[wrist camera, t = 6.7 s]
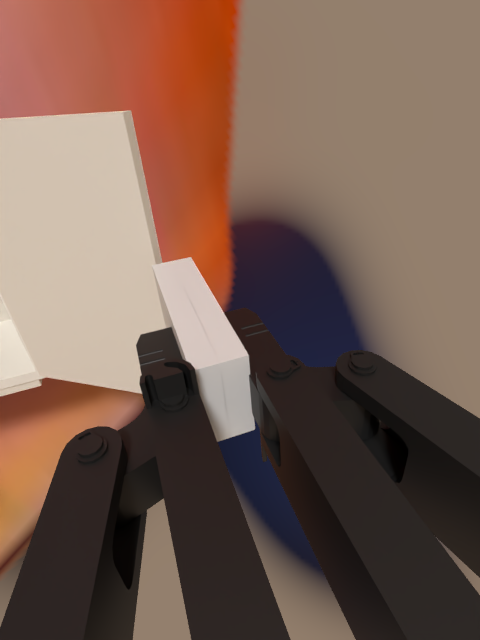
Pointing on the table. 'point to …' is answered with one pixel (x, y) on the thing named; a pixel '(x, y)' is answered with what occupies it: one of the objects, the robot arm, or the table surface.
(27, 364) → the carton
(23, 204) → the flap
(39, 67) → the table surface
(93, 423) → the table surface
